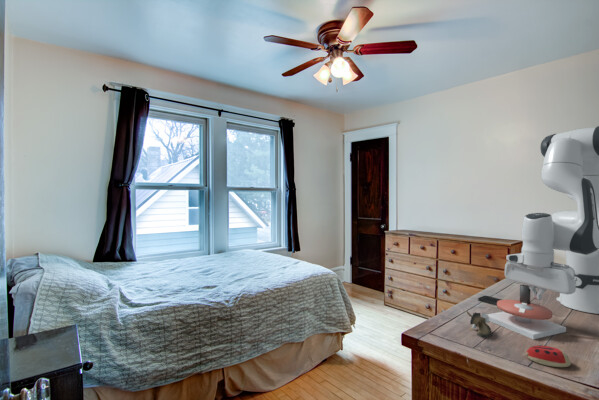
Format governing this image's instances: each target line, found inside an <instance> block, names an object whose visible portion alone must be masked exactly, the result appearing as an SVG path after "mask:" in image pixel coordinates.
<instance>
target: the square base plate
mask: <svg viewBox="0 0 599 400" xmlns="http://www.w3.org/2000/svg"><path fill="white" fill-rule="evenodd" d="M486 314H487V313H486ZM487 315H488V316H489V323H493V324H495V325H498V326H500V327H503V328H505V329H508V330H510V331H512V332H514V333H517V334H519V335H522V336H524V337H527V338H529V339H531V340H536V339H541V338H546V337H550V336H554V335H558V334H563V333H566V332H567V327H566V326H564V325H560V324H557V323H555V322H552V321H550V320H548V319H546V320H537V319H528V318H523V317H519V316H515V315H512V314H509V313H506V312H504V311H499V312H492V313H488V314H487Z"/></svg>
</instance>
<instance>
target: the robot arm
mask: <svg viewBox="0 0 599 400" xmlns="http://www.w3.org/2000/svg"><path fill="white" fill-rule="evenodd" d="M540 153H541V155H542V157H544V158H543V163H542V167H541V172H540V173H541V174H540V176H541V177H540V178H541V181H542V183H543V184H544V185H545V186H546V187H548V188H550V189H551V190H554V191H556V192H559V193H563V194H566V195H567V196H568V198H569V199H571V200H573V201H574V202H576V210H575V209H574V210H573V209H571V210H570V209H569V210H561V211H556V212H554V213H552V214H550V213H545V212H532V213H528V214H525V216H524V217H523V220H522V225H521V240H522V246H521V250H520V251H521V252H518V253H513V254H507V255H506V263H505V264H504V277H505V279H506V280H508V281H511V282H515V283H520V284H523V285H528V286H529V289H530V293H531V294H532V298H533V299H534V300H538V301H542V298H543V295H544V293H545V292H546V290H548V291H551V292H556V293H559V296H557V297H556V298H555V299H556V301H557V302H559V303H560V304H561V305H562V306H564V307H566V308H569V309H573V310H575V311H578V312H579V311H580V312H584V313H588V314H596V315H599V125H598V126H596V127H585V128H577V129H576V128H575V129H573V130H569V131H563V132H559V133H553V134H552V133H551V134H550V135H547V136H546V137H544V138H543V140H541V143H540ZM555 250H557V251H565V264H562V263H558V262H555Z"/></svg>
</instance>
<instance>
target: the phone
mask: <svg viewBox="0 0 599 400" xmlns="http://www.w3.org/2000/svg"><path fill="white" fill-rule="evenodd" d="M499 300H503V299H502V298H497V297H493V296H489V295H482V296H480V297H478V298H477V301H478V302H482V303H485V304H489V305H493V306H496V307H497V302H498V301H499Z"/></svg>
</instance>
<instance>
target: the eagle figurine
mask: <svg viewBox="0 0 599 400" xmlns="http://www.w3.org/2000/svg"><path fill="white" fill-rule="evenodd" d="M465 312H466V314H467V315H468V316H469V317H471V318H470V325H472V326H471V329H470V330H471V331H472V330H475V329H476V328H477V327H478V331H477V333H476V336H478V337H480V338H483V339H484V338H485V339H487V338H491V337H492V334H493V333H492V329H491V327H490V326H489V324H488V323H490V321H489V316H488V315H487V313H485V312H482V314H481V312H477V311H476V312H473V313H472V314H471V313H470V312H469V311H468V310H466V311H465Z"/></svg>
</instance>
